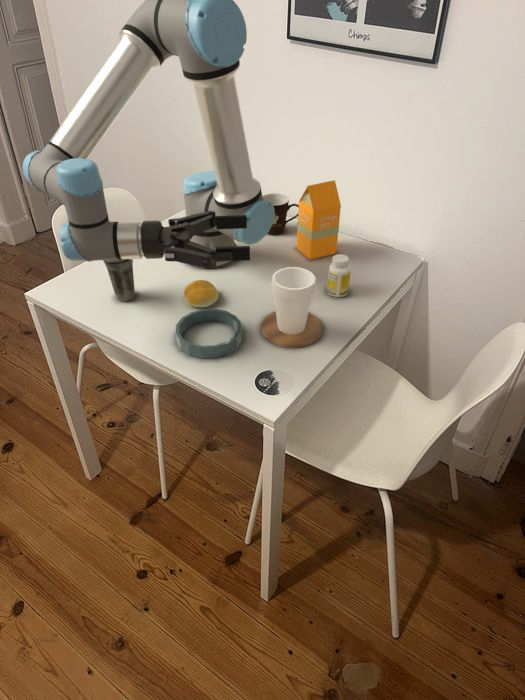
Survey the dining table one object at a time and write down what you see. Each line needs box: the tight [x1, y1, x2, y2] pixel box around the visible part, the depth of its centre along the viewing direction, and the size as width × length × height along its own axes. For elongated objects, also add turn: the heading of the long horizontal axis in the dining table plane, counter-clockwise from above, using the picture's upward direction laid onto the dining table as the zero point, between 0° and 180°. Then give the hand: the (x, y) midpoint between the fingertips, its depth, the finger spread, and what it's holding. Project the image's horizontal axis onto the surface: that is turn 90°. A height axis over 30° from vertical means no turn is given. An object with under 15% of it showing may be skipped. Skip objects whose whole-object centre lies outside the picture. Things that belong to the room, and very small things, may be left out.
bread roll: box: [183, 279, 219, 308], centre depth 131 cm, size 8×9×4 cm
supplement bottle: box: [326, 253, 352, 298], centre depth 132 cm, size 5×5×10 cm
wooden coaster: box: [261, 311, 323, 349], centre depth 123 cm, size 14×14×1 cm
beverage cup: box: [102, 259, 135, 303], centre depth 127 cm, size 7×7×20 cm
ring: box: [175, 308, 243, 360], centre depth 119 cm, size 15×15×3 cm
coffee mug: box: [262, 192, 299, 236], centre depth 158 cm, size 12×9×10 cm
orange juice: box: [296, 179, 342, 261], centre depth 146 cm, size 8×9×20 cm
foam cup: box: [271, 266, 316, 335], centre depth 118 cm, size 10×9×13 cm
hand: (248, 236), depth 107 cm, fingers open, 13 cm apart
